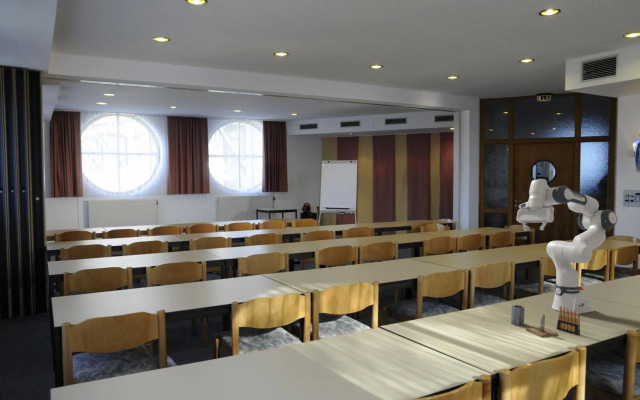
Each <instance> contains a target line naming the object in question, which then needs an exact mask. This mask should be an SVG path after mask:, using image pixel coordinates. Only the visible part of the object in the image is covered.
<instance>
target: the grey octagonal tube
mask: <svg viewBox="0 0 640 400" xmlns="http://www.w3.org/2000/svg"><path fill="white" fill-rule="evenodd" d="M525 312H526V307H525V306H524V305H519V304H518V305H517V304H512V306H511V316H510V317H511V320H510V324H511V325H513V326H518V327H520V326H521V327H522V326H523V327H524V326H525Z"/></svg>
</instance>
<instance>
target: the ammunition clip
mask: <svg viewBox="0 0 640 400" xmlns="http://www.w3.org/2000/svg"><path fill="white" fill-rule="evenodd" d="M580 315H581V314H580V313H579V310H578V312H577V314H576V311H575V309H574V312H573V313H572V309H570V313H569V310H568V308H567V310H566V312H565V307H563V312H562V308H561V306H560V308H559V311H558V316H557V325H556V330H557V331H560V332H564V333H568V334H571V335H575V336H580V335H581V323H580V322H581V319H580V318H581V317H580Z"/></svg>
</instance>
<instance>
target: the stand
mask: <svg viewBox="0 0 640 400" xmlns="http://www.w3.org/2000/svg"><path fill="white" fill-rule="evenodd" d="M539 317H540V318H539V326H537V327H529V328H526V329H525V331H527V332H529V333H530V334H533V335H535V336H538V337H540V338H544V337H545V338H546V337H554V336H559V332H555V331H554V330H551V329H548V328H547V327H545V324H546V323H545V322H546V314H543V313H542V314H541V313H540V316H539Z"/></svg>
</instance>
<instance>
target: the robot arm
mask: <svg viewBox="0 0 640 400" xmlns="http://www.w3.org/2000/svg"><path fill="white" fill-rule="evenodd" d="M528 194H529V197H528V201H526V202H524V203H520V204H519V205H518V208H519V209H518V210H517V213H516V214H517V215H516V221H517V222H518V223H520V224H522V226H523V230H524V231H528V226H527V224H532V223H535V224H536V223H538V224H539V223H542V224H541V225H540V226H539V230H540V231H544V230H545V227H546V226H547V224H548V223H553V222H554V220H555V218H554V217H555V216H554V214H555V213H554V212H555V207H554V206H553V205H555V206H556V205H561V204H567V206H568V207H567V208H568V209H569V210H571V211H572V212H574V213H577V214H578V213H579V214H578V217H577V225H578V227H579V228H580V229H581V230H583V232H582V233H579V234H578V235H575V236H574V238H573V240H572V241H565V240H552V241H549V242H548V243H547V245H546V254H547V255H548V256H549V258H550V259H551V260H552V262H553V264H554V267H555V271H556V272H555V274H556V275H555V277H556V278H555V280H556V281H555V286H554V290H555V292H554V297H553V302H552V305H551V309H553V310H554V311H558V312H559V308H560V306H561V308H562V312H563V307H565V313H566V310H567V308H568V310H569V314H570V309H572V314H573V312H574V309H575V311H576V315H577V312H578V310H579V313H580V315H581V314H586V313H591V312H594V310H595V309H594V308H593V307H590V301H589V299H588V298H587V297H586V296H584V295H583V294H582V293H581V291H584V290H585V288H584V287H583V286H579V285H578V283H579V273H578V270H577V269H575V268H574V267H573V265H572V263H575V264H588V263H589V262H590V261H591V260H592V258H593V250H596V249H597V248H598V247H599V246H601V245H602V244H603V243H604V242H605V240H606V238H607V235H606V232H610V231H611V230H612V228H613V227H615V226H616V224H617V222H618V217H617V214H616V212H615V211H613V210H611V209H604V210H599V207H600V204H599V201H598V200H597V199H596V198H594V197H593V196H589V195H587V194H583V193H580V192H578V191H574V190H572V189H571V188H569V187H568V186H566V185H563V184H562V185H558V186H555V187H550V186H549V185H548V183H547V179H545V178H536V179H533V180H532V181H531V183H530V186H529V191H528Z"/></svg>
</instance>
